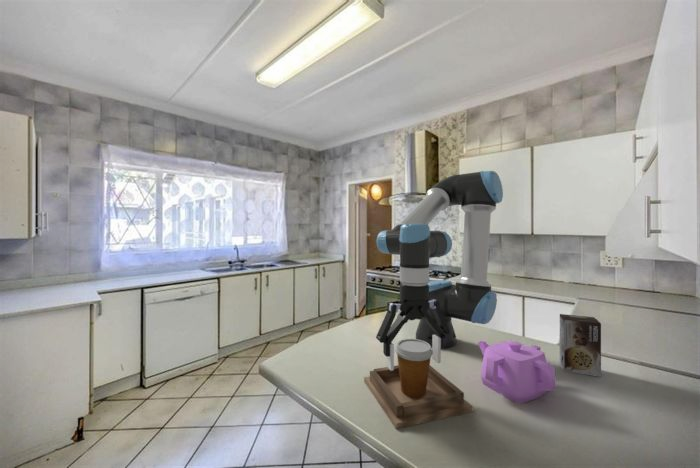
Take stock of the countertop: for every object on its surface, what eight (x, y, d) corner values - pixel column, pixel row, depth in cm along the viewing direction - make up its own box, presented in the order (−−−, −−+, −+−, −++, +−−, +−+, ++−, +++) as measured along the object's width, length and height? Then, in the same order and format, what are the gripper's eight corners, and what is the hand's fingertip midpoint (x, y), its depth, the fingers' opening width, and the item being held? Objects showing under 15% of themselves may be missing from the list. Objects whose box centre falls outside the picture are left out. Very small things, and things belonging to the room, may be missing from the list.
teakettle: (486, 399, 73) (486, 351, 73) (476, 368, 89) (476, 328, 89) (563, 411, 68) (564, 360, 68) (538, 376, 84) (539, 334, 84)
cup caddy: (425, 371, 87) (425, 359, 87) (472, 411, 68) (472, 396, 68) (364, 381, 81) (364, 368, 81) (396, 428, 62) (396, 412, 62)
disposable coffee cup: (434, 404, 69) (434, 354, 68) (394, 399, 71) (394, 351, 70) (430, 383, 78) (431, 339, 78) (395, 379, 80) (395, 336, 80)
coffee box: (593, 368, 89) (594, 316, 89) (601, 377, 83) (602, 323, 83) (558, 362, 93) (559, 313, 93) (563, 371, 87) (564, 318, 87)
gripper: (446, 278, 81) (445, 352, 81) (364, 283, 74) (363, 364, 74) (464, 283, 74) (463, 364, 74) (375, 289, 66) (374, 379, 67)
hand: (413, 364), depth 74 cm, fingers open, 13 cm apart
